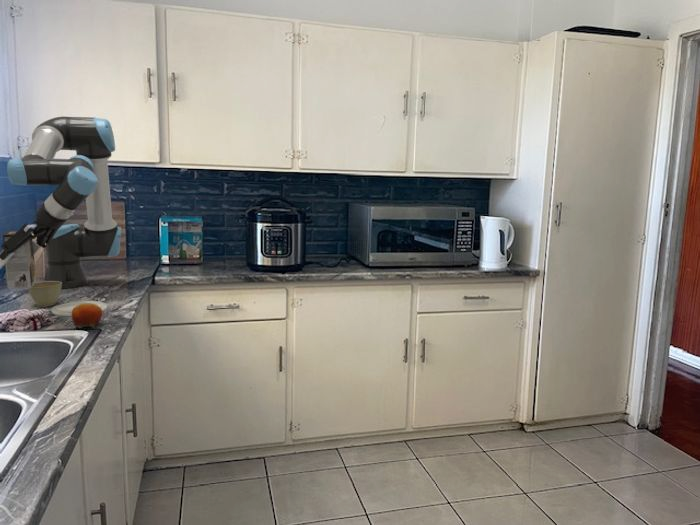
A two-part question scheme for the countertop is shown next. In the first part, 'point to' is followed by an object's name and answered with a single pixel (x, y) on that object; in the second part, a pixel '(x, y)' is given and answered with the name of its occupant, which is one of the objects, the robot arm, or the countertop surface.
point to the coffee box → (20, 265)
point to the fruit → (86, 315)
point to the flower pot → (45, 292)
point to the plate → (68, 307)
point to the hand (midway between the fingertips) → (11, 261)
